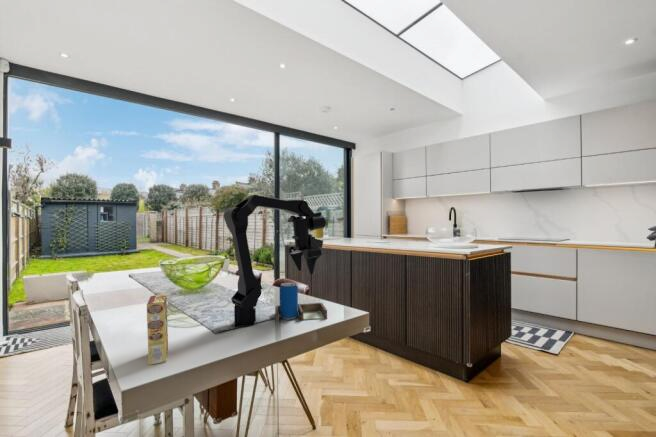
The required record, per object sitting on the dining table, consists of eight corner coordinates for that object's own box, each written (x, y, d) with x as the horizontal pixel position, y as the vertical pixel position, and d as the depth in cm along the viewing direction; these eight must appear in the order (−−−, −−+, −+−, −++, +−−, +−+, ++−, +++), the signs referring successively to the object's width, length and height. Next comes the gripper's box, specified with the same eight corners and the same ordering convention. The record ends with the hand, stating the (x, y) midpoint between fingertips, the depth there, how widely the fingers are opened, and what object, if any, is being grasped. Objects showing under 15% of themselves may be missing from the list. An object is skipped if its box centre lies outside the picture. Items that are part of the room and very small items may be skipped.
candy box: (166, 362, 81) (165, 301, 81) (147, 365, 80) (146, 303, 79) (168, 349, 89) (167, 293, 89) (151, 352, 88) (150, 295, 88)
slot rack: (276, 322, 111) (276, 313, 111) (275, 313, 121) (275, 305, 121) (327, 318, 114) (327, 310, 114) (321, 310, 124) (321, 302, 124)
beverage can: (297, 320, 113) (296, 285, 113) (278, 320, 113) (277, 286, 113) (299, 314, 119) (298, 282, 119) (281, 314, 119) (281, 282, 119)
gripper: (332, 230, 121) (336, 271, 122) (307, 228, 137) (311, 265, 138) (306, 235, 115) (310, 278, 116) (283, 232, 131) (287, 270, 132)
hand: (305, 272), depth 126 cm, fingers open, 9 cm apart
